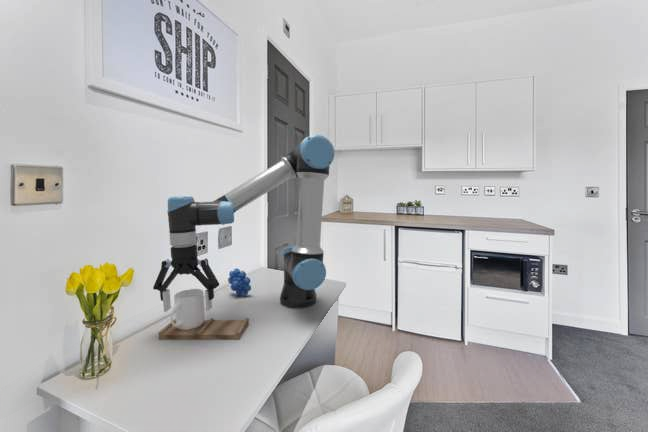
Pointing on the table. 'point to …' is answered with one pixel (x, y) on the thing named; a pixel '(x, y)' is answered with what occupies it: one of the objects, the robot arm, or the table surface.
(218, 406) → the table surface
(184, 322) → the mug
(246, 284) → the grapes
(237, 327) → the ledge board
